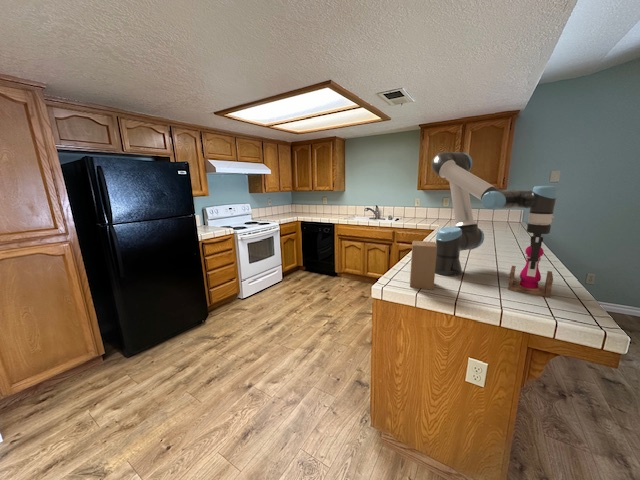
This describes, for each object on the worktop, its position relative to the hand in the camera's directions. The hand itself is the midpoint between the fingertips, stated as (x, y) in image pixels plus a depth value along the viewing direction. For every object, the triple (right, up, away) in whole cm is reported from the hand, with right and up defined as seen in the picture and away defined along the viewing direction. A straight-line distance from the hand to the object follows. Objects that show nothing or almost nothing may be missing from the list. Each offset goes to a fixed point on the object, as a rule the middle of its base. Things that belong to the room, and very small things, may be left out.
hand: (531, 271), depth 112 cm
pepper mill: (0, -7, +2) cm, 7 cm away
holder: (0, -8, +2) cm, 8 cm away
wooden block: (-45, -7, +9) cm, 46 cm away
